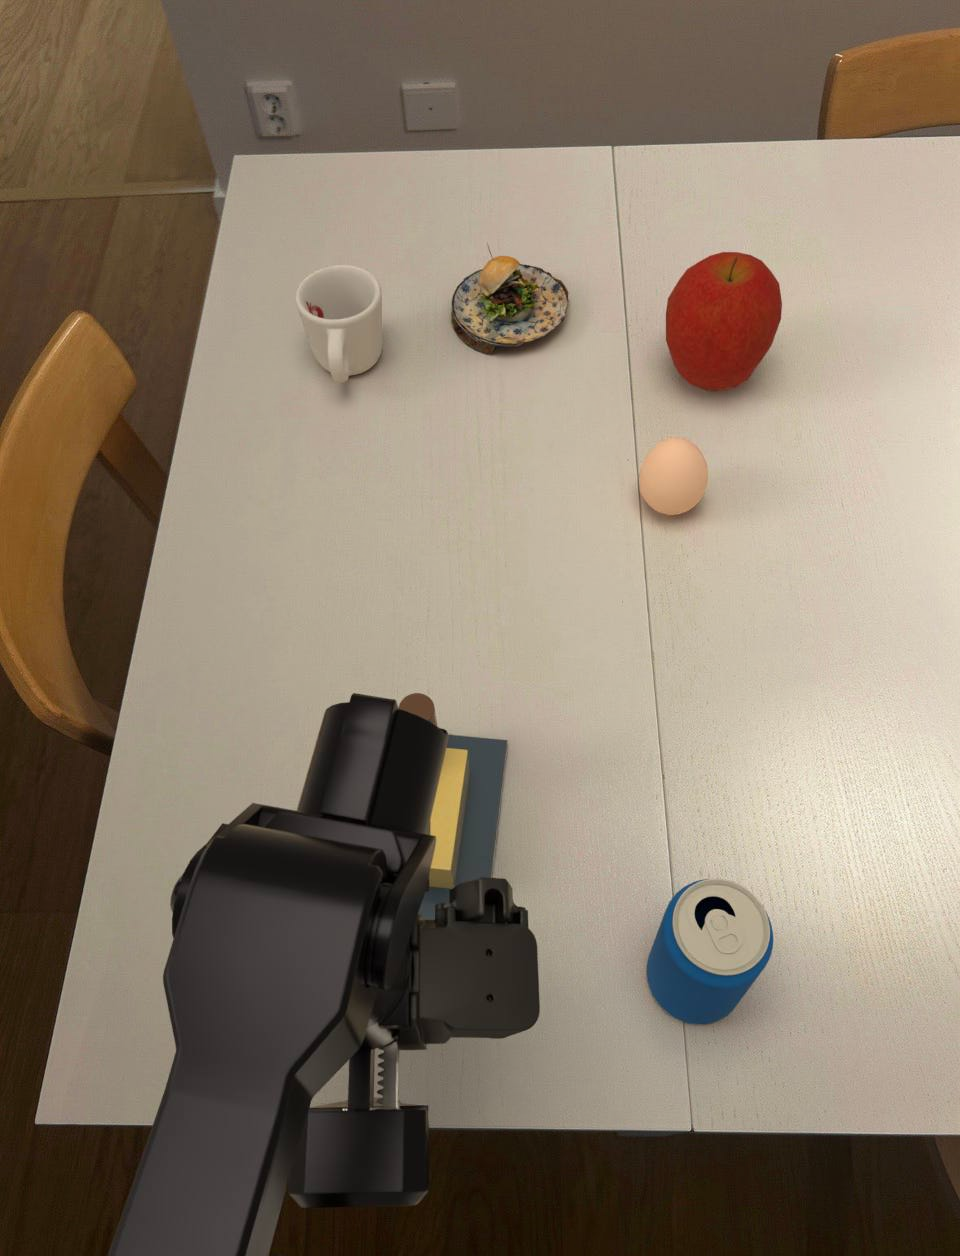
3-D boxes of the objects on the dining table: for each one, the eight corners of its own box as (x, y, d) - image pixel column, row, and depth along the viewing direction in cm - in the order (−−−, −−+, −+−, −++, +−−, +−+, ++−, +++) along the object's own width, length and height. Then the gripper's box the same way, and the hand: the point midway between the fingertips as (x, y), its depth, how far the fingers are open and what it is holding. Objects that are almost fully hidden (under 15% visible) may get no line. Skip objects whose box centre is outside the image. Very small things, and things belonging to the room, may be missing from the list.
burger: (488, 374, 103) (486, 313, 96) (429, 303, 108) (424, 242, 102) (592, 327, 106) (597, 265, 99) (529, 261, 111) (530, 198, 105)
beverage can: (714, 915, 74) (744, 856, 64) (759, 1005, 71) (798, 957, 61) (629, 949, 73) (646, 894, 63) (671, 1042, 70) (696, 999, 60)
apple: (740, 329, 105) (767, 207, 93) (783, 400, 100) (817, 280, 88) (641, 352, 104) (656, 231, 92) (679, 425, 98) (700, 307, 87)
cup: (386, 407, 101) (376, 343, 94) (302, 408, 101) (286, 345, 94) (392, 328, 106) (383, 262, 100) (313, 329, 107) (299, 264, 100)
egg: (646, 472, 95) (654, 412, 89) (708, 488, 94) (722, 429, 88) (627, 520, 93) (635, 462, 86) (692, 537, 91) (704, 480, 85)
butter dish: (482, 953, 73) (480, 933, 69) (326, 935, 74) (315, 914, 70) (507, 744, 82) (506, 715, 78) (367, 731, 83) (359, 701, 79)
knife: (442, 792, 78) (431, 726, 69) (410, 789, 79) (395, 723, 69) (450, 735, 81) (441, 664, 72) (419, 732, 81) (406, 661, 72)
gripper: (536, 1207, 41) (537, 1198, 55) (519, 754, 50) (524, 845, 64) (253, 1213, 42) (325, 1202, 56) (284, 763, 50) (340, 851, 64)
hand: (387, 1013), depth 60 cm, fingers open, 9 cm apart
